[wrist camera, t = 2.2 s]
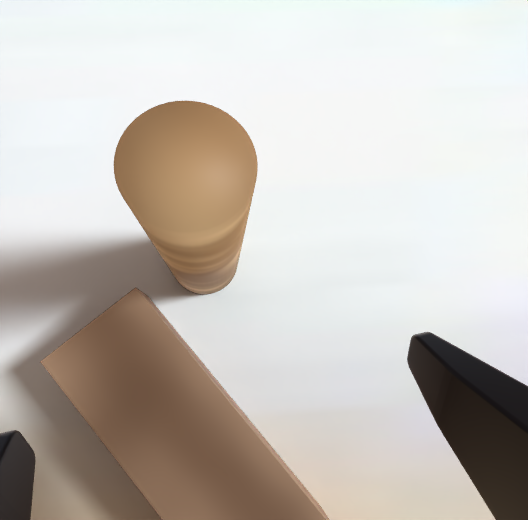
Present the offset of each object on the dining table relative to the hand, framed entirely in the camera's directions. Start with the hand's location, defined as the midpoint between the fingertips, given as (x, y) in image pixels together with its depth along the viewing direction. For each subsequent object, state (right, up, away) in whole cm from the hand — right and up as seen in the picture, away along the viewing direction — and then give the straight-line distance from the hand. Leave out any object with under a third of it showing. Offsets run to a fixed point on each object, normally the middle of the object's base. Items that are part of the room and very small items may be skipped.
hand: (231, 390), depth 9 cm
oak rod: (-3, +3, +13) cm, 13 cm away
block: (-3, -6, +11) cm, 13 cm away
